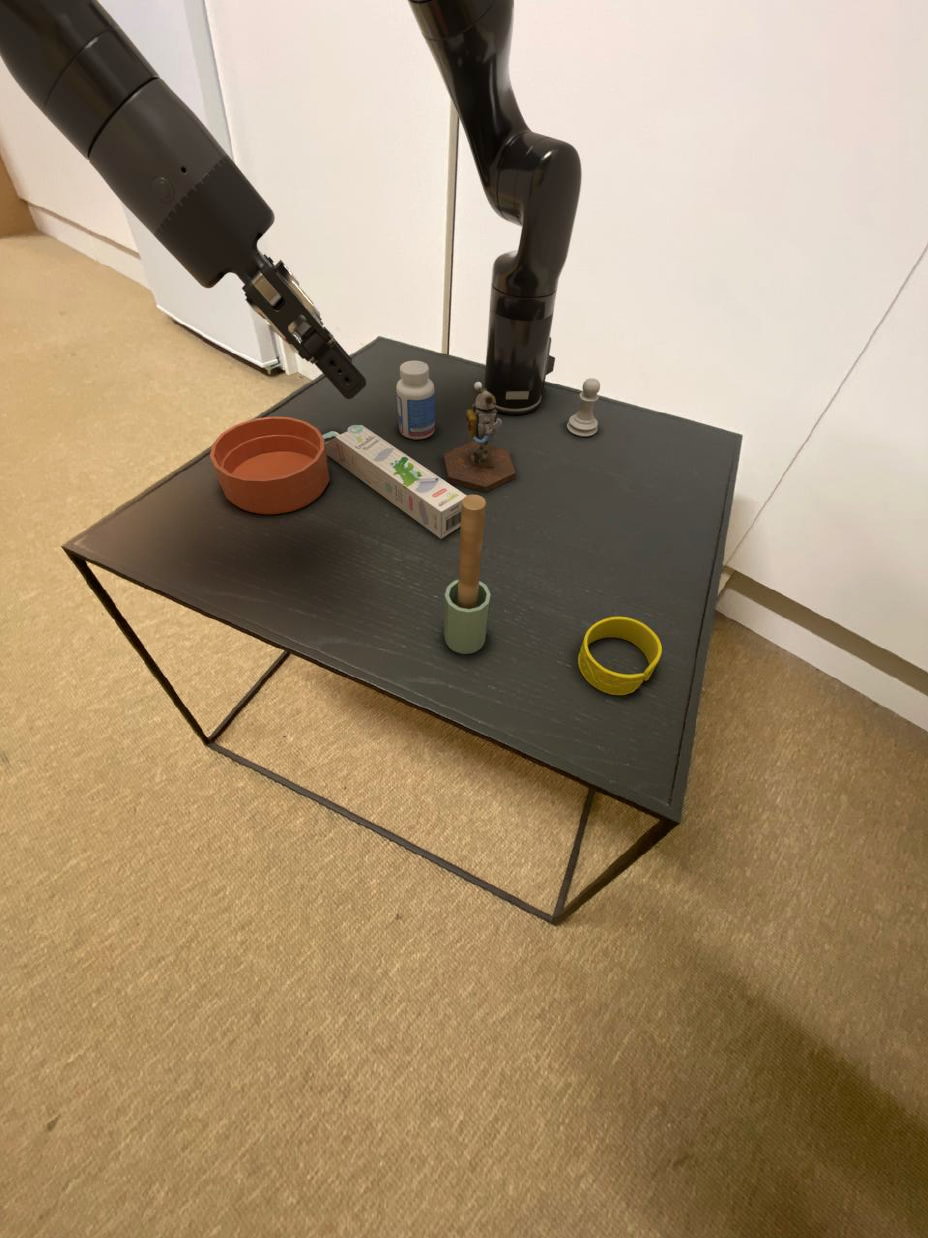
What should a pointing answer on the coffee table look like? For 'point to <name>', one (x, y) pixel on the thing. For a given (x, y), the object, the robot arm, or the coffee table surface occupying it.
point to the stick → (470, 550)
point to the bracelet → (626, 631)
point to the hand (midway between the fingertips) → (351, 379)
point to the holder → (465, 620)
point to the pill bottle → (415, 401)
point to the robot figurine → (480, 450)
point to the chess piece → (585, 411)
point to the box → (398, 478)
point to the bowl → (271, 464)
